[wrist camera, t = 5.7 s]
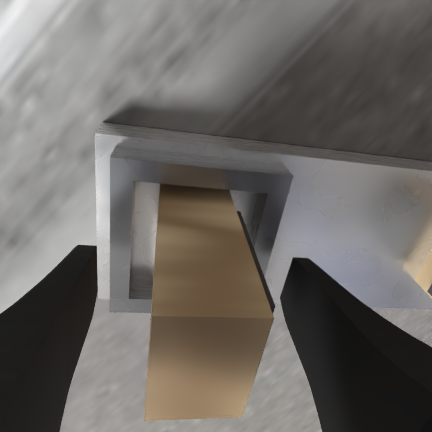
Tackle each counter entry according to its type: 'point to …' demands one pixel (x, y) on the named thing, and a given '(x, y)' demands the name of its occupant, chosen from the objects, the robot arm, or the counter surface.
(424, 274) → the fixed finger
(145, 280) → the rail
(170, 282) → the block
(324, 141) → the counter surface
